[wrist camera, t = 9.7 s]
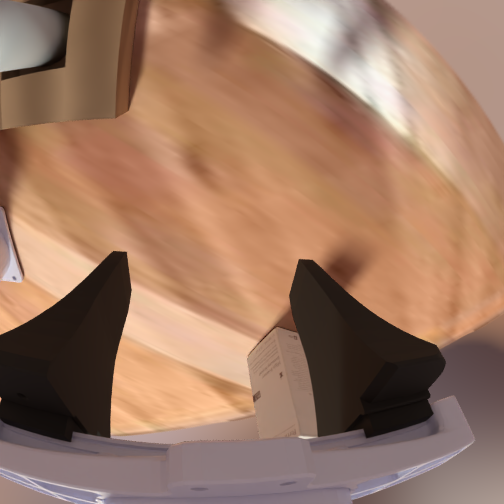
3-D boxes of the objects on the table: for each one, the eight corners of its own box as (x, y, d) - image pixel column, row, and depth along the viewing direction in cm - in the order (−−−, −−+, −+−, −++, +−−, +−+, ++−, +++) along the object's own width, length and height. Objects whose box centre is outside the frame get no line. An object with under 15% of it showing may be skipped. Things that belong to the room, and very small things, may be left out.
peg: (28, 72, 14) (-35, 86, 8) (27, 23, 11) (-35, 19, 6) (76, 57, 14) (19, 59, 8) (76, 4, 12) (21, -13, 6)
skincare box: (274, 324, 30) (300, 435, 20) (309, 334, 32) (340, 435, 22) (244, 358, 33) (258, 459, 23) (277, 366, 35) (297, 459, 25)
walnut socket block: (-7, 125, 15) (-29, 135, 13) (3, -15, 9) (-18, -19, 6) (128, 110, 17) (115, 118, 15) (149, -50, 11) (140, -65, 8)
